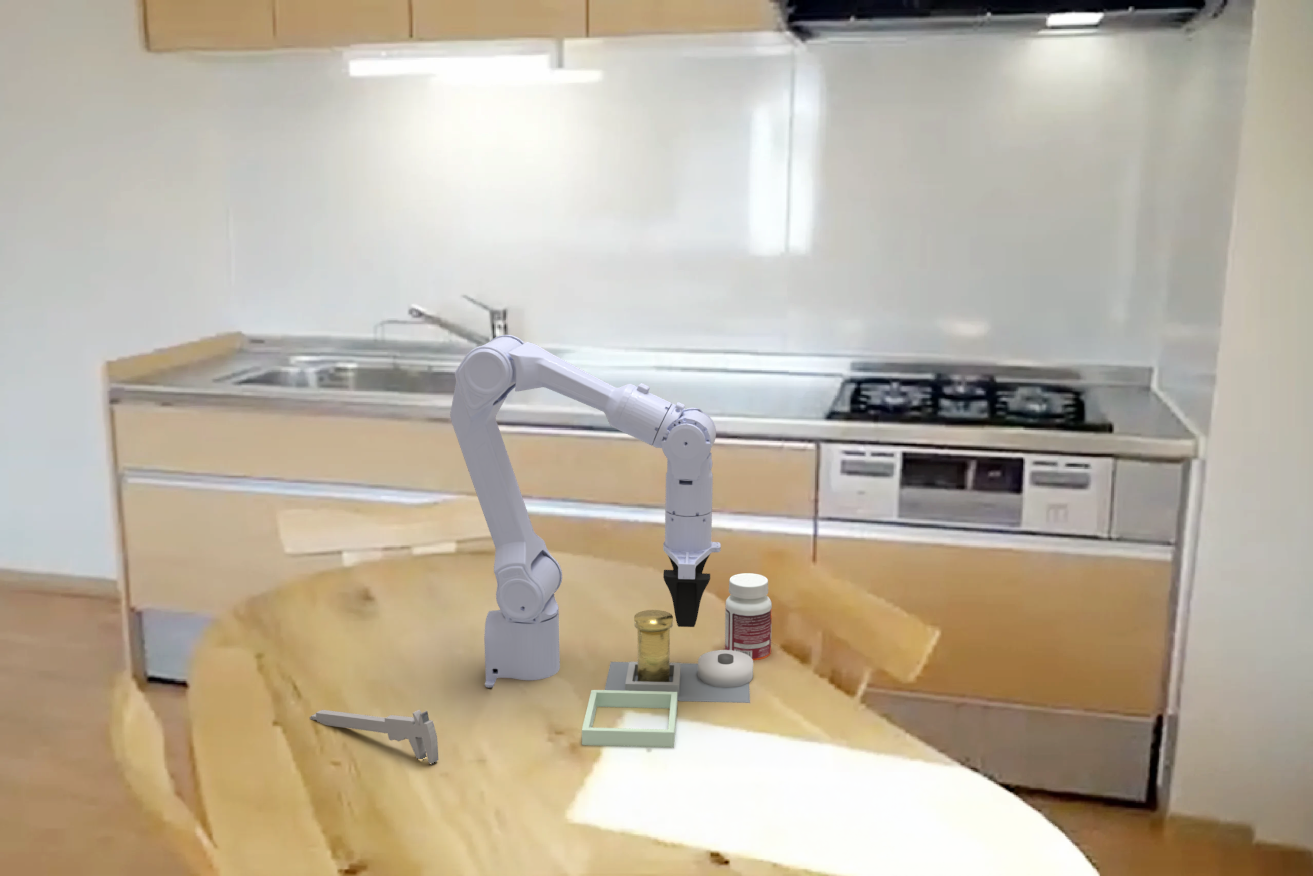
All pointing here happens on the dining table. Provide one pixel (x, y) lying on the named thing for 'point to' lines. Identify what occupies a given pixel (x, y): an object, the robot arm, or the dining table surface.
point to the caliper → (390, 728)
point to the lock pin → (653, 645)
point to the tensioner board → (693, 678)
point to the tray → (627, 734)
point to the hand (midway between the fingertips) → (686, 614)
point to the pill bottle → (748, 616)
